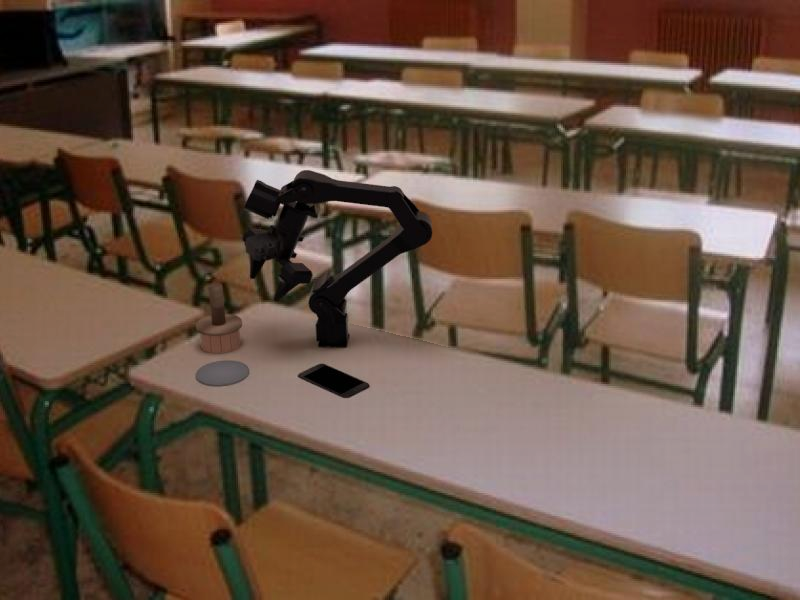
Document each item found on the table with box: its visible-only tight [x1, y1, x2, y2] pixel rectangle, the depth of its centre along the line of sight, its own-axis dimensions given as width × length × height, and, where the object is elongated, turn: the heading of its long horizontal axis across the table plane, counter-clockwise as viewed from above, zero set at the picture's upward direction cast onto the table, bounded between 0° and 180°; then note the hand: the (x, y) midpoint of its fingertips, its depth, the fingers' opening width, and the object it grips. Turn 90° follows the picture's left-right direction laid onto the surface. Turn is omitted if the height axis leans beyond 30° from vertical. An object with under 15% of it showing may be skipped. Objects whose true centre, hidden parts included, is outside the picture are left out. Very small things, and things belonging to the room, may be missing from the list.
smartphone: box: [297, 363, 371, 399], centre depth 196 cm, size 7×15×1 cm, turn 47°
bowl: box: [199, 329, 242, 354], centre depth 212 cm, size 8×8×4 cm
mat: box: [195, 359, 250, 387], centre depth 200 cm, size 11×11×1 cm
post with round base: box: [195, 283, 243, 336], centre depth 209 cm, size 10×10×10 cm
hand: (263, 289), depth 209 cm, fingers open, 9 cm apart
